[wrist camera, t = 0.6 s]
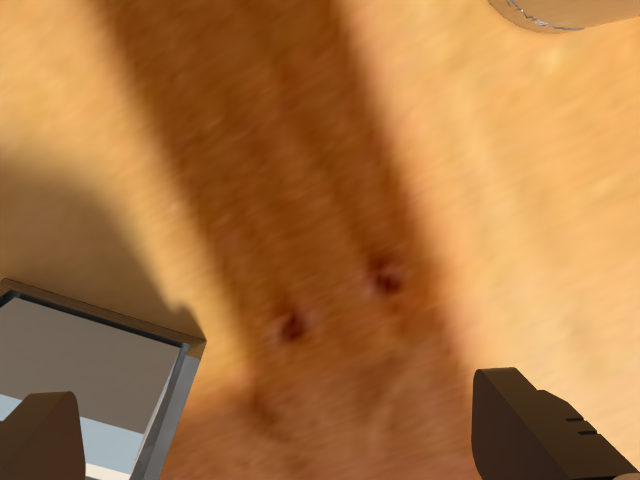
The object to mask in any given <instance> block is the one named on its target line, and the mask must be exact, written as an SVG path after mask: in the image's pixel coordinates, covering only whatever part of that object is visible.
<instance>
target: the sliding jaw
mask: <svg viewBox="0 0 640 480" xmlns="http://www.w3.org/2000/svg"><path fill="white" fill-rule="evenodd" d="M180 349H181V348H178V347H175V346H172V345H168V344H165V343H162V342H159V341H155V340H152V339H149V338H146V337H142V336H139V335H136V334H133V333H129V332H126V331H123V330H120V329H116V328H113V327H110V326H107V325H103V324H100V323H97V322H94V321H90V320H87V319H84V318H81V317H77V316H74V315H71V314H68V313H64V312H61V311H58V310H55V309H51V308H48V307H45V306H42V305H38V304H35V303H32V302H29V301H25V300H22V299H19V298H16V297H15V298H13V299H12V300H11V301H9V302H8V303H7V304H5V305H4V306H3V307H1V308H0V421H3V420H4V419H5V418H6V417H7V416H8V415H9V414H10V413H11V412H12V411H13V410H14V409H15V408H16V407H17V406H18V405H19V404H20V403H21V402H22V401H23V400H24V399H25V397H26V396H28V395H29V394H31V393H47V392H65V391H71V392H73V393H74V394H75V396H76V399H77V403H78V409H79V416H80V424H81V431H82V439H83V446H84V454H85V462H86V475H85V476H89V477H92V478H96V479H100V480H129V479H130V477H131V474H132V472H133V469H134V467H135V464H136V462H137V460H138V457H139V455H140V452H141V450H142V448H143V445H144V443H145V440H146V438H147V436H148V433H149V431H150V428H151V426H152V424H153V421H154V419H155V416H156V414H157V412H158V409H159V407H160V404H161V402H162V399H163V397H164V395H165V392H166V390H167V387H168V384H169V381H170V378H171V375H172V373H173V370H174V367H175V364H176V361H177V358H178V355H179V352H180Z"/></svg>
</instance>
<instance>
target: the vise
mask: <svg viewBox="0 0 640 480" xmlns="http://www.w3.org/2000/svg"><path fill="white" fill-rule="evenodd" d="M15 297H16V298H19V299H22V300H25V301H29V302H32V303H35V304H38V305H42V306H45V307H48V308H51V309H55V310H58V311H61V312H64V313H68V314H71V315H74V316H77V317H81V318H84V319H87V320H90V321H94V322H97V323H100V324H103V325H107V326H110V327H113V328H116V329H120V330H123V331H126V332H129V333H133V334H136V335H139V336H142V337H146V338H149V339H152V340H155V341H159V342H162V343H165V344H168V345H172V346H175V347H178V348H181V349H180V352H179V355H178V358H177V361H176V364H175V367H174V370H173V373H172V375H171V378H170V381H169V384H168V387H167V390H166V392H165V395H164V397H163V399H162V402H161V404H160V407H159V409H158V412H157V414H156V416H155V419H154V421H153V424H152V426H151V428H150V431H149V433H148V436H147V438H146V440H145V443H144V445H143V448H142V450H141V452H140V455H139V457H138V460H137V462H136V464H135V467H134V469H133V472H132V474H131V477H130V479H129V480H158V479H159V476H160V473H161V471H162V468H163V465H164V462H165V459H166V456H167V454H168V451H169V448H170V445H171V442H172V439H173V437H174V434H175V431H176V428H177V425H178V423H179V420H180V417H181V414H182V411H183V408H184V406H185V403H186V400H187V397H188V394H189V391H190V389H191V386H192V383H193V380H194V377H195V374H196V372H197V369H198V366H199V363H200V360H201V357H202V354H203V351H204V348H205V345H206V342H207V341H205V340H202V339H199V338H195V337H192V336H189V335H186V334H182V333H179V332H176V331H173V330H170V329H166V328H163V327H160V326H157V325H154V324H150V323H147V322H144V321H141V320H138V319H134V318H131V317H128V316H125V315H122V314H118V313H115V312H112V311H109V310H106V309H102V308H99V307H96V306H93V305H90V304H86V303H83V302H80V301H77V300H74V299H70V298H67V297H64V296H61V295H58V294H54V293H51V292H48V291H45V290H42V289H38V288H35V287H32V286H29V285H25V284H22V283H19V282H16V281H13V280H9V279H6V278H5V279H3V280H1V281H0V308H1V307H3V306H4V305H5V304H7V303H8V302H9V301H11V300H12V299H13V298H15ZM85 480H100V479H96V478H92V477H89V476H85Z"/></svg>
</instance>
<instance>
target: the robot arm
mask: <svg viewBox="0 0 640 480" xmlns="http://www.w3.org/2000/svg"><path fill="white" fill-rule="evenodd" d="M488 1H489V3H490V4H491V5H492V6H493V7H494V8H495V9H496V10H497V11H498V12H499V13H500V14H501V15H502V16H503V17H504V18H506V19H508V20H509V21H511V22H513V23H514V24H516V25H518V26H519V27H522V28H525V29H528V30H532V31H535V32H539V33H556V34H557V33H563V32H569V31H575V30H582V29H585V28H588V27H593V26H597V25H601V24H606V23H611V22H616V21H620V20H625V19H629V18H634V17H638V16H640V0H488ZM471 442H472V452H473V457H474V461H475V465H476V467H477V470H478V472H479V474H480V476H481V478H482V479H483V480H640V472H639V471H638V470H637V469H636V468H635V467H634V466H633V465H632V464H631V463H630V462H629V461H628V460H627V459H626V458H625V457H624V456H623V455H621V454H620V453H619V452H618V451H617V450H616V449H615V448H614V447H613V446H612V445H611V444H610V443H609V442H608V441H607V440H606V439H605V438H604V437H603V436H602V435H601V434H597V430H596V429H595V428H594V427H593V426H592V425H591V424H590V423H589V422H587V421H584V418H583V417H582V416H581V415H580V414H579V413H578V412H577V411H576V410H575V409H574V408H573V407H572V406H571V405H570V404H569V403H568V402H566V401H564V400H562V399H560V398H559V397H557V396H555V395H553V394H551V393H549V392H547V391H545V390H537V389H536V388H535V387H534V386H533V385H532V384H531V383H530V382H529V381H528V380H527V379H526V378H525V377H524V376H523V375H522V374H521V373H520V372H519V371H518V370H517V369H516V368H514V367H509V368H491V369H478V370H476V372H475V375H474V380H473V405H472V435H471ZM85 475H86V462H85V454H84V446H83V439H82V431H81V424H80V416H79V409H78V403H77V399H76V396H75V394H74V393H73V392H71V391H65V392H47V393H31V394H29V395H28V396H26V397H25V399H24V400H23V401H22V402H21V403H20V404H19V405H18V406H17V407H16V408H15V409H14V410H13V411H12V412H11V413H10V414H9V415H8V416H7V417H6V418H5V419H4V420H3V421H0V480H85Z"/></svg>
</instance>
